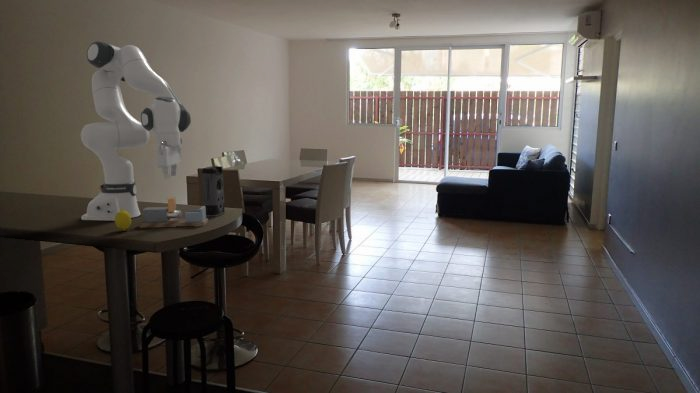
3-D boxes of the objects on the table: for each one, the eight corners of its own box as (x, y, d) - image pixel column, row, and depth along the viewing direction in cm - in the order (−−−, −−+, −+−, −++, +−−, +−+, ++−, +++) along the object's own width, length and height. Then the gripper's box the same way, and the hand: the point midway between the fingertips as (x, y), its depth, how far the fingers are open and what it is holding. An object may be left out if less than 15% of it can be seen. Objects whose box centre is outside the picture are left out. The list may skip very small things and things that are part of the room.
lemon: (118, 229, 200) (117, 208, 198) (134, 228, 200) (132, 207, 199) (113, 232, 194) (111, 211, 193) (129, 232, 195) (127, 210, 193)
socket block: (185, 222, 204) (184, 209, 203) (189, 218, 210) (188, 206, 209) (202, 221, 204) (202, 209, 204) (206, 218, 210) (205, 206, 209)
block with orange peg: (142, 219, 204) (140, 199, 202) (145, 217, 208) (143, 197, 206) (179, 219, 205) (178, 198, 203) (182, 217, 209) (180, 196, 207)
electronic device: (216, 217, 220) (214, 168, 217) (203, 216, 221) (200, 168, 218) (226, 212, 229) (223, 166, 226) (213, 212, 230) (210, 166, 227)
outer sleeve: (143, 222, 204) (142, 209, 203) (147, 219, 208) (146, 207, 208) (167, 222, 204) (166, 209, 203) (170, 219, 209) (170, 206, 208)
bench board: (139, 227, 202) (139, 223, 202) (146, 222, 210) (145, 219, 210) (203, 226, 204) (203, 222, 203) (208, 221, 212) (207, 218, 211)
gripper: (169, 141, 191) (171, 180, 193) (183, 139, 211) (185, 174, 214) (151, 142, 191) (153, 180, 193) (166, 139, 211) (169, 174, 213)
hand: (170, 177), depth 203 cm, fingers open, 8 cm apart
